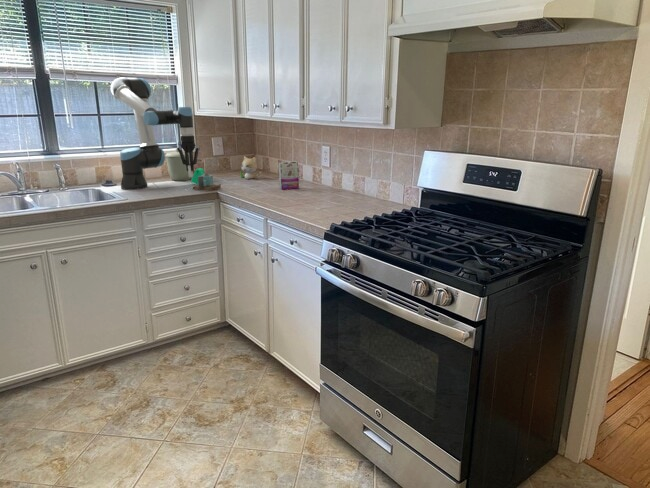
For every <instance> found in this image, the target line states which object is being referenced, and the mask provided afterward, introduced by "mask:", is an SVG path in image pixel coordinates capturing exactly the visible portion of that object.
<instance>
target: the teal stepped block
mask: <svg viewBox="0 0 650 488" xmlns="http://www.w3.org/2000/svg"><path fill="white" fill-rule="evenodd" d="M198 184H199V187H204V186H211V185H212V184H214V175H213V174H208V176H204V175H202V176H198Z"/></svg>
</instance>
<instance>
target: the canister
mask: <svg viewBox="0 0 650 488" xmlns="http://www.w3.org/2000/svg"><path fill="white" fill-rule="evenodd" d="M177 148H178V147H176V148H175V151H172V152H171V151H170V152H167V153H165V161H166V166H167V171H168V174H169V178H170V179H171V180H172V181H176V182H177V181H178V182H180V181H181V182H182V181H188V180H190V179H192V177H189V174H188V171H187V168H186V165H184V164H183V163H182V160H181V157H180V154H179V151H178V150H177ZM183 154H184V157H185V153H184V151H183ZM188 154H189V153H188ZM189 164H190V157H189Z"/></svg>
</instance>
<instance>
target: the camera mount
mask: <svg viewBox="0 0 650 488" xmlns="http://www.w3.org/2000/svg"><path fill="white" fill-rule="evenodd" d="M204 172H205V171H204V169H203V168H202V167H201V168H196V169H194V172H193V177H191V178H190V179H191V180H190V181H191V184H195V185H197V184H198V176H202V175H204Z"/></svg>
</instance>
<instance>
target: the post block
mask: <svg viewBox="0 0 650 488" xmlns="http://www.w3.org/2000/svg"><path fill="white" fill-rule="evenodd" d="M208 175H209V172H208V171H204V176H208ZM221 185H222V184H220V183H219V184H218V183H213V184H212V185H211V186H204V187H199V184H197V185H196V184H195V185H194V186H192V191H212V192H213V191H214V192H215V191H217V190H219V189H221V188H222V186H221Z"/></svg>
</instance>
